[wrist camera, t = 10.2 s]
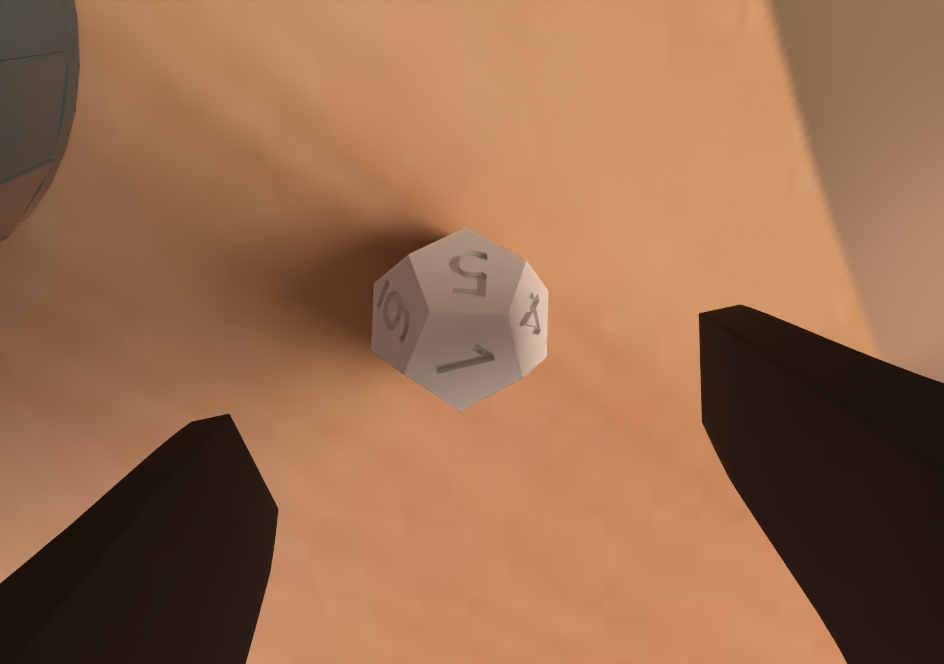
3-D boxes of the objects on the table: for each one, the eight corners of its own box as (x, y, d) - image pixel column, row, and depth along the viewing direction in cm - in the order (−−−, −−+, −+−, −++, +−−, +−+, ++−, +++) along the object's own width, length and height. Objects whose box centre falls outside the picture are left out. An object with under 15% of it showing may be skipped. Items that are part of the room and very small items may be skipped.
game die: (352, 236, 13) (332, 298, 10) (524, 192, 13) (549, 244, 10) (400, 372, 14) (394, 455, 12) (552, 336, 14) (580, 412, 12)
